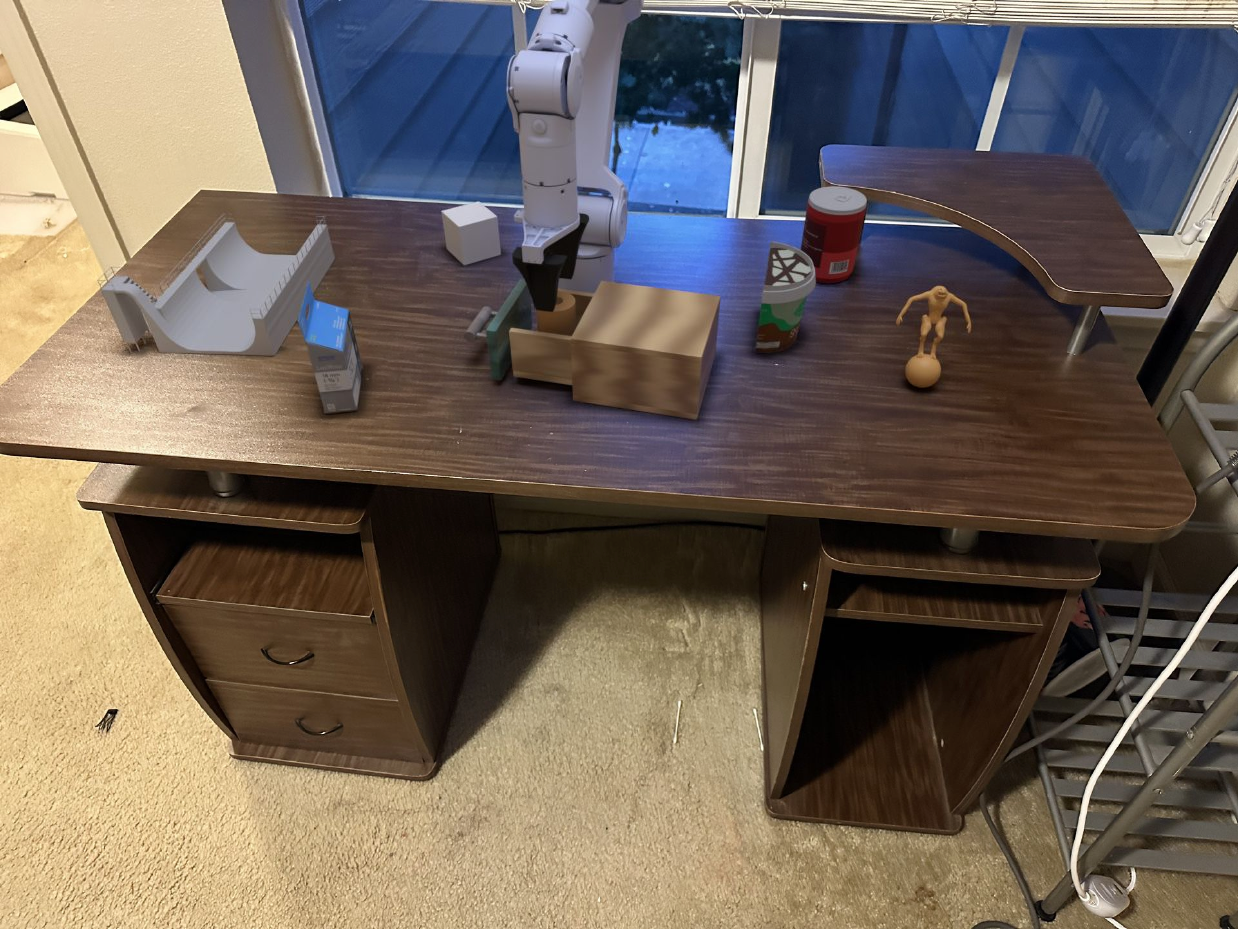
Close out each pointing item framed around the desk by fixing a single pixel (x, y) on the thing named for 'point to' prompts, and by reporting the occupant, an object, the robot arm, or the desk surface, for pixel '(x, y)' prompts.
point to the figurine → (924, 366)
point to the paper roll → (559, 316)
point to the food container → (783, 297)
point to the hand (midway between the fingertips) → (554, 293)
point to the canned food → (833, 231)
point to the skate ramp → (223, 297)
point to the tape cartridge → (332, 353)
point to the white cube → (471, 232)
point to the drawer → (525, 339)
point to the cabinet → (645, 349)
